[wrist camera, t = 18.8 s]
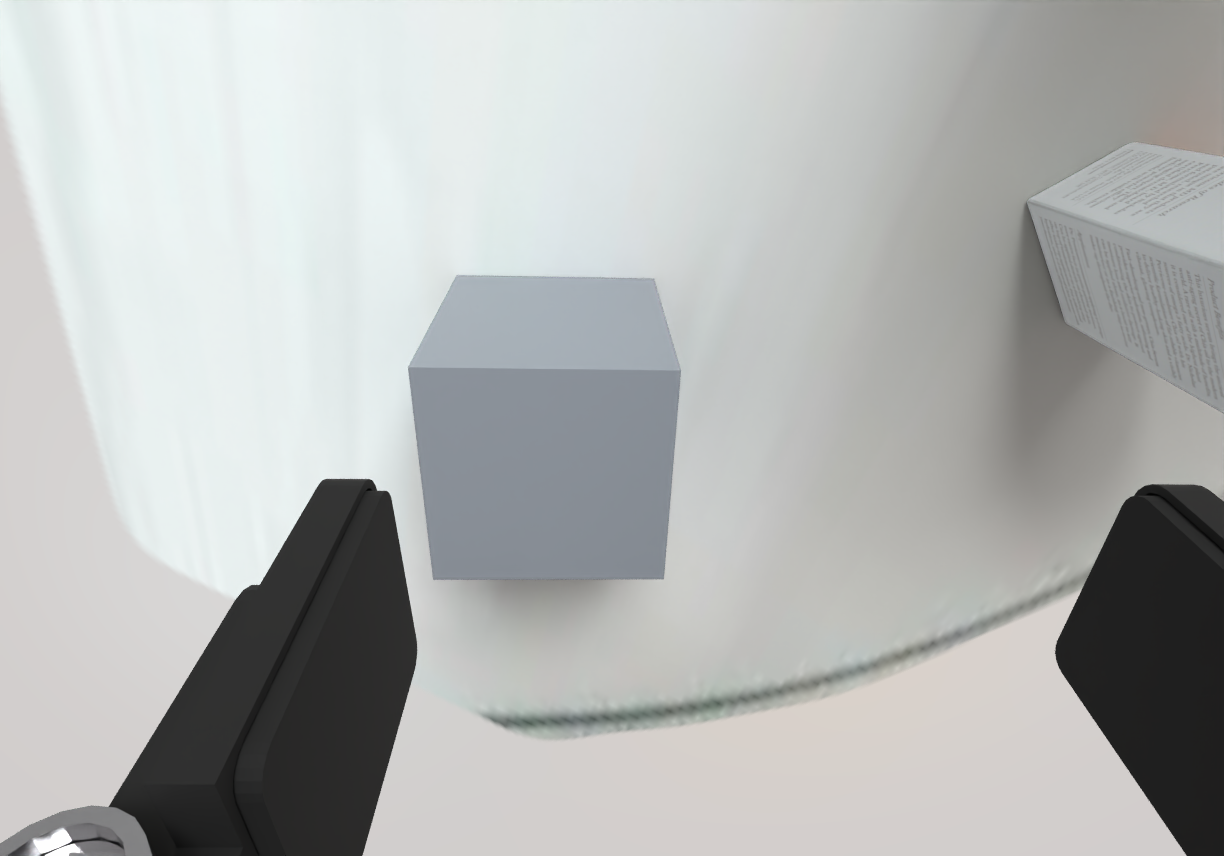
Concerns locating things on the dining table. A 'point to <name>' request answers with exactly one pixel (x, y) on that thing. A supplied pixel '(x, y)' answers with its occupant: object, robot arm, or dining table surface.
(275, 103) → the dining table surface
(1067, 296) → the skincare box
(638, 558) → the grey matte cube
